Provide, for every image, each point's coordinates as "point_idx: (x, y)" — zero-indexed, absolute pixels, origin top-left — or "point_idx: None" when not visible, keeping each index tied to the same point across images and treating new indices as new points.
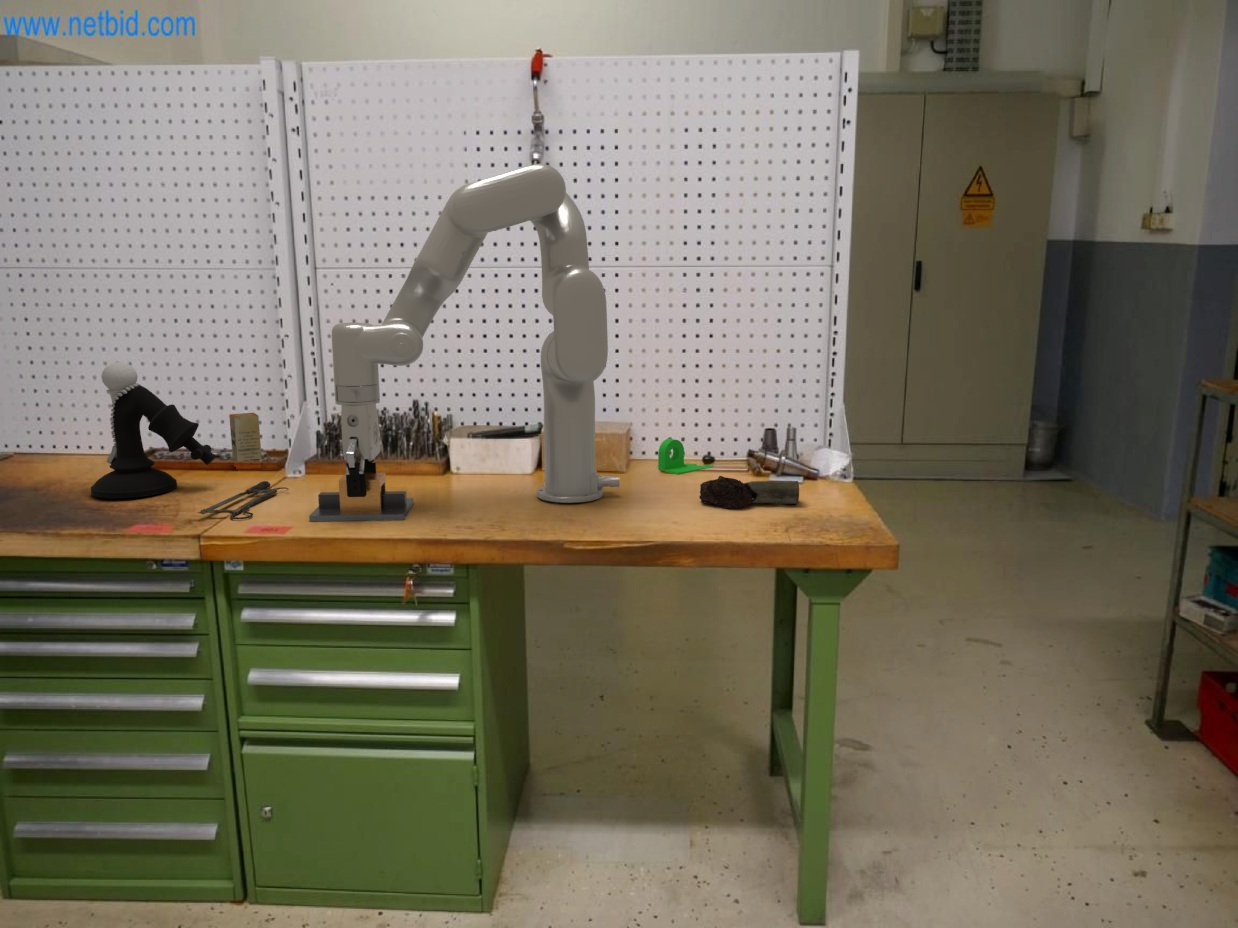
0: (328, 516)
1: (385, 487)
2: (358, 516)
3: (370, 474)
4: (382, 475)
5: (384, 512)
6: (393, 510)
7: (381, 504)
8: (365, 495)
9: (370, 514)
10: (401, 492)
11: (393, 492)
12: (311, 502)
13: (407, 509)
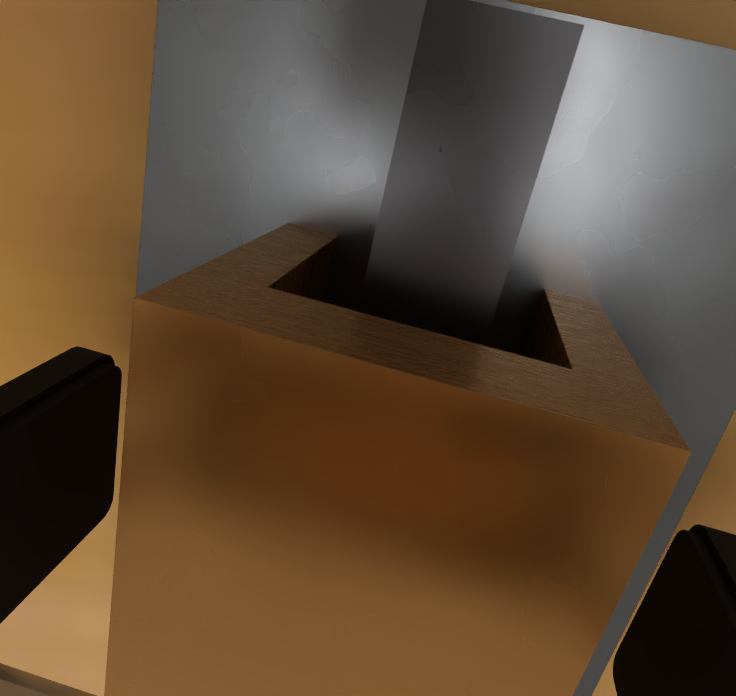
0: (598, 670)
1: (260, 260)
2: (684, 489)
3: (229, 511)
4: (344, 364)
5: (699, 279)
6: (652, 184)
7: (560, 305)
8: (733, 538)
9: (720, 406)
10: (492, 66)
11: (455, 174)
12: (62, 649)
13: (605, 25)
